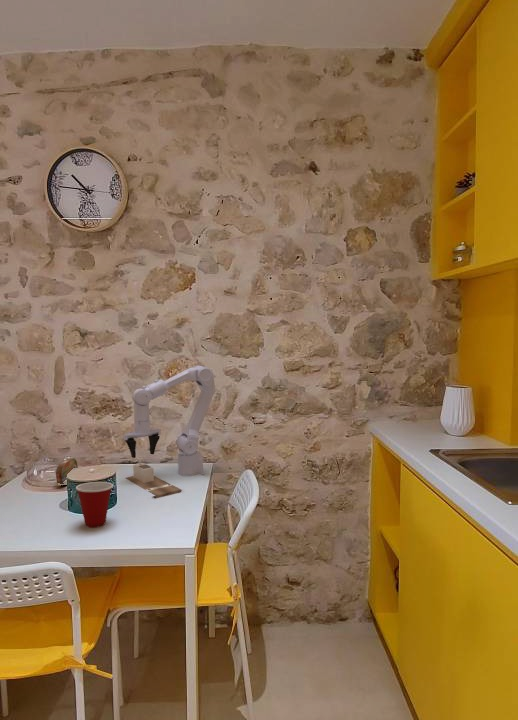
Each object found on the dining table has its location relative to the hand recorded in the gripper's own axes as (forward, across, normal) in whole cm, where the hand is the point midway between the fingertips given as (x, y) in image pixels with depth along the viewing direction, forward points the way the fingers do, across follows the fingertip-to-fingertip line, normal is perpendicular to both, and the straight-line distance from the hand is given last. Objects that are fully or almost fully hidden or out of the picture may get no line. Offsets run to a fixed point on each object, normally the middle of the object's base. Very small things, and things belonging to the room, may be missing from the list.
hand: (142, 455), depth 191 cm
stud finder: (+9, 0, 0) cm, 9 cm away
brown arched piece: (+10, +23, -18) cm, 31 cm away
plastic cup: (+10, +29, +28) cm, 42 cm away
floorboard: (+10, 0, +7) cm, 12 cm away
